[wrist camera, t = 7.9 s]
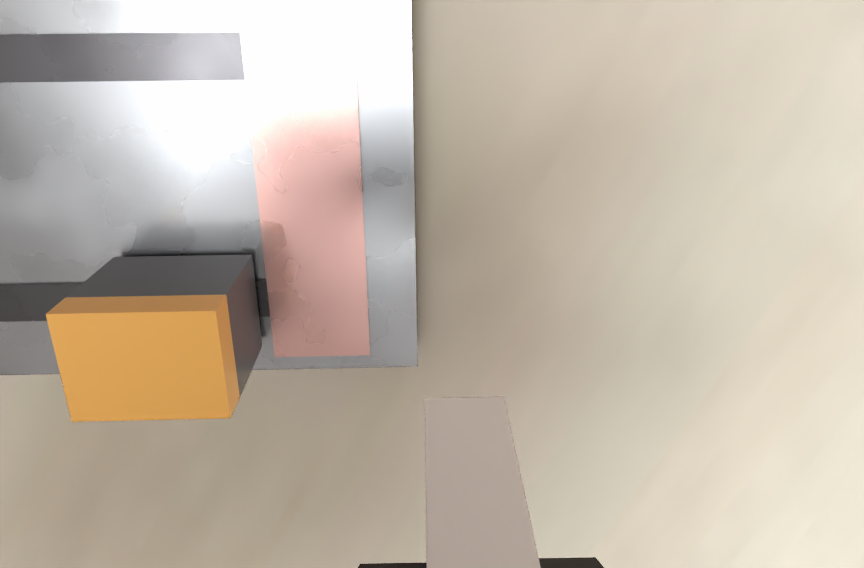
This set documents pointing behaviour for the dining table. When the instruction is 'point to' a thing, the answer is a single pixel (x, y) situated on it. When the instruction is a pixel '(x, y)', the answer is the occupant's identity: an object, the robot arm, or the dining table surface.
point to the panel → (214, 163)
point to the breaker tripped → (158, 338)
